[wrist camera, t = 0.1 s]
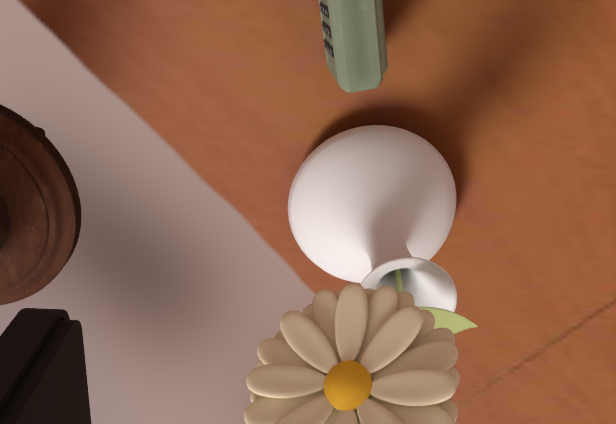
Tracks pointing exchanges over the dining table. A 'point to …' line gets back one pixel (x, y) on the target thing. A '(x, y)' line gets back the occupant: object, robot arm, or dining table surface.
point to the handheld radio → (354, 42)
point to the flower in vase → (367, 290)
